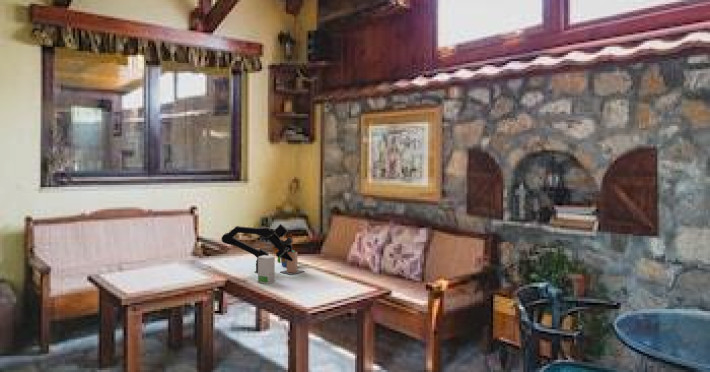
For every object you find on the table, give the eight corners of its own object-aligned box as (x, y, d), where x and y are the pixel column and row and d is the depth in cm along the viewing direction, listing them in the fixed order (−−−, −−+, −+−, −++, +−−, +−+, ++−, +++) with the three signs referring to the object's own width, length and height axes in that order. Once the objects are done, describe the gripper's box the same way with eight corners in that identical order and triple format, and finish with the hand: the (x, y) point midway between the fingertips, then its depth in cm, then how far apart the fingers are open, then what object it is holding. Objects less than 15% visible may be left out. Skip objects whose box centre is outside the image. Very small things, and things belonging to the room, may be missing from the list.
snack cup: (292, 262, 366) (291, 248, 365) (301, 265, 359) (301, 250, 358) (273, 266, 355) (273, 251, 355) (282, 269, 348) (282, 254, 347)
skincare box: (257, 282, 314) (256, 256, 313) (264, 280, 320) (263, 254, 319) (269, 284, 310) (268, 258, 309) (275, 281, 316) (274, 255, 315)
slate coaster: (291, 275, 331) (291, 274, 331) (279, 272, 338) (279, 271, 338) (304, 271, 339) (304, 270, 339) (292, 269, 346) (292, 268, 346)
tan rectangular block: (286, 271, 336) (286, 253, 336) (289, 270, 342) (289, 251, 341) (294, 272, 336) (294, 253, 335) (297, 270, 341) (297, 252, 340)
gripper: (280, 236, 328) (297, 253, 327) (289, 231, 347) (306, 248, 345) (268, 248, 330) (286, 266, 329) (278, 242, 349) (294, 259, 348)
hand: (293, 259), depth 338 cm, fingers open, 7 cm apart
